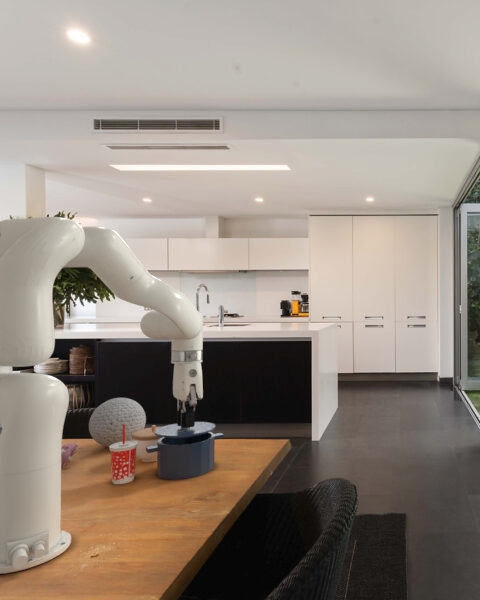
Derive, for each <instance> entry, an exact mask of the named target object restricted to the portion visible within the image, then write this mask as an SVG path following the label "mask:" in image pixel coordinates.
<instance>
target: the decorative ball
mask: <svg viewBox="0 0 480 600" xmlns="http://www.w3.org/2000/svg"><path fill="white" fill-rule="evenodd" d="M146 423H147V416H146V412H145V410H144V408H143V406H142V405H141V404H140V403H139V402H137V401H136V400H134V399H132V398H128V397H113V398H110V399H108V400H106V401H105V402H104V401H103V403H101V404H100V405H99V406H97V407H96V408H95V409H94V411H93V412H92V414H91V415H90V418H89V421H88V431H89V434H90V436H91V438H92V439H93V440H94V441H95V442H96V443H97V444H98V445H101V446H102V447H105V448H109V446H110V445H112V444H115V443H118V442H123V424H125V441H132V434H133V433H134V432H136V431H138V430H141V429H145V428H146Z"/></svg>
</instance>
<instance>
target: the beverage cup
mask: <svg viewBox="0 0 480 600" xmlns="http://www.w3.org/2000/svg"><path fill="white" fill-rule="evenodd" d="M137 444H138V442H136V441H125V424H123V442H118V443H115V444H112V445H110V446H109V447H108V448H109V451H110V464H111V480H112V484H114V485H123V484H128V483H131V482H132V481H134V480H135V473H136V472H135V471H136V459H137V458H136V457H137V456H136V447H137V446H138V445H137Z"/></svg>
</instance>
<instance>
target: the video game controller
mask: <svg viewBox="0 0 480 600" xmlns="http://www.w3.org/2000/svg"><path fill="white" fill-rule="evenodd" d="M78 448H79V445H78V444H76V443H71V442H69V443H67V444H64V445H62V448H61V469H64V467H65V465H67V464H68V463H70V462H71V461H72V458H73V456H74V455H75V454H76V452H77V450H78Z"/></svg>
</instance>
